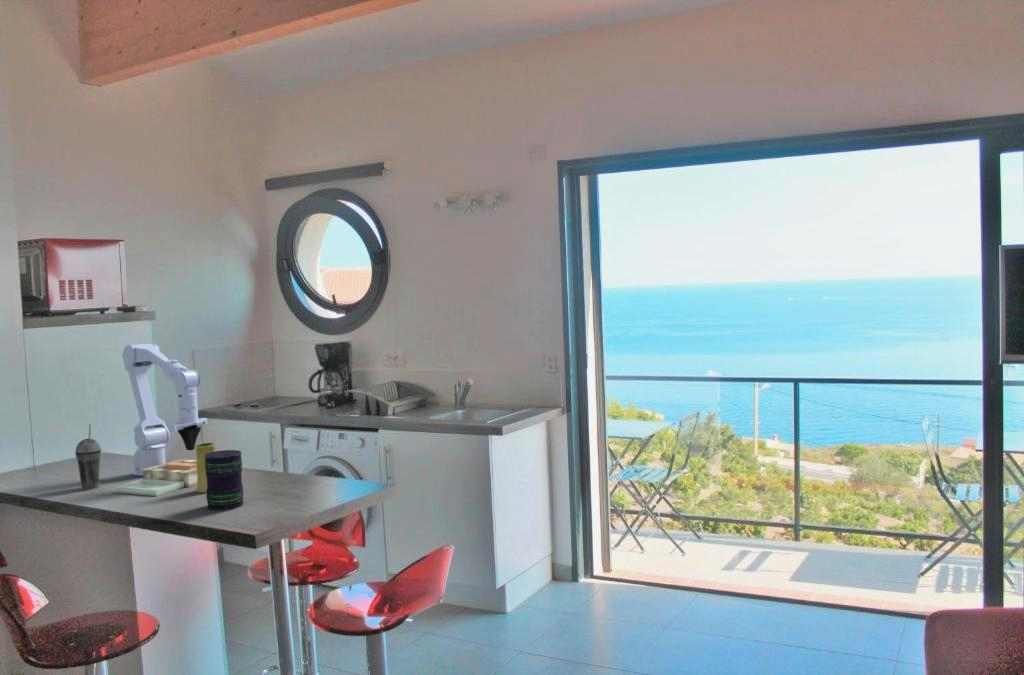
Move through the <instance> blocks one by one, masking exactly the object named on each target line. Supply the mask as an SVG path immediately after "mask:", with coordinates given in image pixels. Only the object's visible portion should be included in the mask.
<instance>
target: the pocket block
mask: <svg viewBox="0 0 1024 675" xmlns="http://www.w3.org/2000/svg"><path fill="white" fill-rule="evenodd" d="M173 462H179V463H194V464H197V459H185V458H182V459H181V458H180V459H177V460H176V459H175V460H172V461H169V462H166V463H165V464H161V465H158V466H154V467H150V468H147V469H143V476H142V479H157V480H170V481H183V482H184V487H183V488H190V487H194V486H197V468H194V469H190V470H187V471H186V470H171V469H166V464H169V463H173Z"/></svg>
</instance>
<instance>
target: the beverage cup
mask: <svg viewBox="0 0 1024 675" xmlns="http://www.w3.org/2000/svg"><path fill="white" fill-rule="evenodd" d="M91 432H92V424H89V425H88V438H86V439H85V438H84V439H82V440H80V441H79V442H78V443H77V445H76V447H75V453H74V454H75V456H76V461H77V466H78V471H79V472H78V473H79V477H80V478H79V479H80V485H81V489H82V490H84V491H88V490H95V489H98V488H99V482H100V461H101V452H102V449H101V446H100V444H99V442H98V441H97V440H96V439H93V438H91V434H92V433H91Z"/></svg>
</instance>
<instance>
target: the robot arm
mask: <svg viewBox="0 0 1024 675" xmlns="http://www.w3.org/2000/svg"><path fill="white" fill-rule="evenodd" d="M121 357H122V361H123V365H124V368H125V371H126V372H128V373H127V374H128V376H129V377H128V378H129V380H130V385H131V390H132V392H133V397H134V401H135V405H136V409H137V414H138V417H139V422H138V423H137V424H136V425H135V426H134V428H133V431H134V443H135V445H136V447H137V449H136V450H135V452H134V453H133V459H134V460H133V461H134V462H133V463H134V473H133V474H132V475H133V476H142V477H143V469H147V468H150V467H154V466H158V465H161V464H165V463H167V461H166V448H165V447H167V444H168V443H169V442H170V439H171V432H177V433H178V434H179V435H180V437H181V438H182V441H183V443H184V446H185V450H186V451H194V450H195V449H196V442H197V438H198V435H199V433H200V432H201V430H202V427H201V425H208V417H201V418H199V408H198V407H199V405H198V390H197V389H198V387H200V384H201V376H200V373H199V372H198V371H197V370H196V369H188V368H187V367H186V366H184V365H182V364H181V363H179V360H177V359H169V358H168V357H166V356H165V355H164V354H163V353H162V351H160V347H159V346H158V345H157V344H156V343H155V342H150V343H139V344H126V345H125V346H124V348H123V351H122V353H121ZM153 365H155V366H157V367H159V368H160V369H161V373H162V375H164V376H165V377H167V378H168V379H169V380H171V381H172V384H173V387H174V388H175V394H176V395H177V403H178V405H177V406H178V422H175V423H173V424H170V425H169V429H168V427H167V425H166V422H165V421H164V420H163V419H161V418H160V417H158V416H157V411H156V409H155V403H154V400H153V395H152V393H151V387H150V383H149V380H148V375H147V372H148V370H149V369H151V368H152V367H153Z"/></svg>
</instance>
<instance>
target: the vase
mask: <svg viewBox="0 0 1024 675" xmlns="http://www.w3.org/2000/svg"><path fill="white" fill-rule="evenodd" d="M195 450H196V452H195V453H196V454H195V455H196V460H197V485H196V492H197V493H201V494H207V490H206V489H207V476H206V473H205V472H206V469H205V460H206V459H205V454H207V453H211V452H216V451H215V450H216V449H215V443H213V442H201V443H197V444H195Z"/></svg>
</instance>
